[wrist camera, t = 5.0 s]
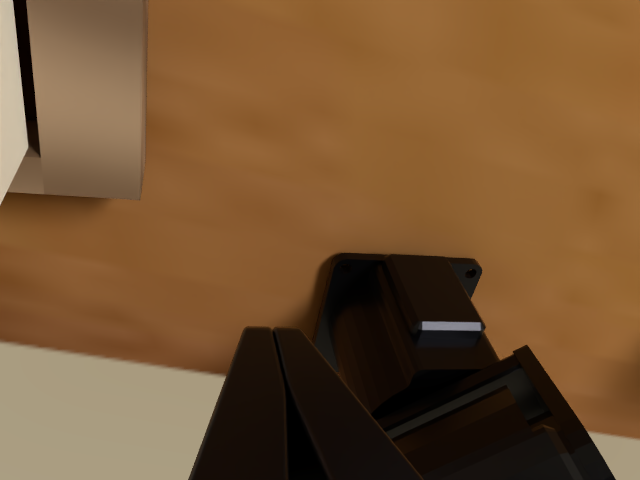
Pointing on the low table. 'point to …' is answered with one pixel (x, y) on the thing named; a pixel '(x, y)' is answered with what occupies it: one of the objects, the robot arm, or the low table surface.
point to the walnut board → (87, 99)
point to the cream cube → (10, 100)
